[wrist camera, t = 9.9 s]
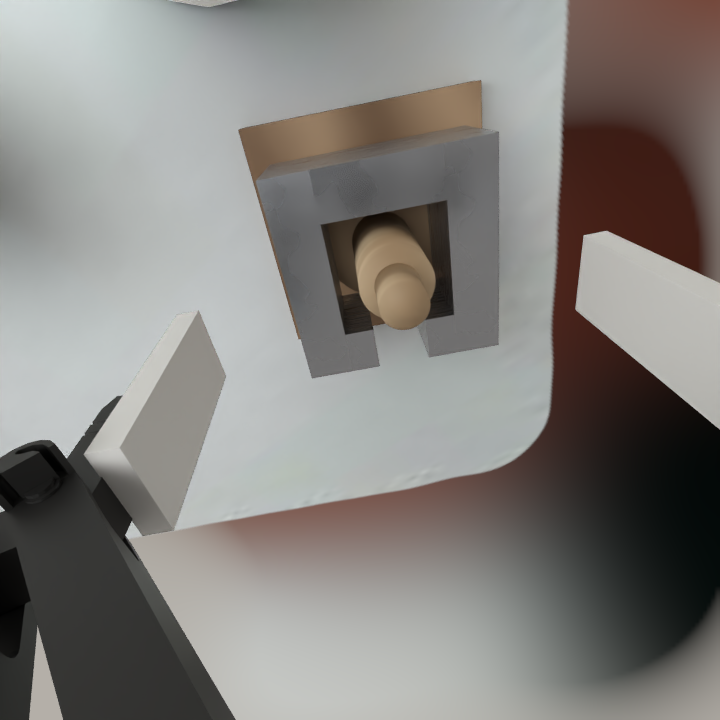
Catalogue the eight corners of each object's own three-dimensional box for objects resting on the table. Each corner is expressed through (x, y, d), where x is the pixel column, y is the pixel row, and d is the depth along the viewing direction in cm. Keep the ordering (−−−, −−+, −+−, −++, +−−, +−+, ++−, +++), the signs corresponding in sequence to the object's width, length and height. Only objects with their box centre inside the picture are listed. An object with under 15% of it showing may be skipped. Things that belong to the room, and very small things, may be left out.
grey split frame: (471, 305, 24) (498, 344, 20) (315, 334, 24) (312, 378, 20) (464, 125, 19) (498, 131, 15) (270, 164, 19) (255, 180, 16)
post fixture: (300, 328, 28) (283, 457, 18) (243, 128, 22) (169, 153, 12) (477, 295, 28) (562, 409, 18) (472, 81, 22) (599, 66, 11)
